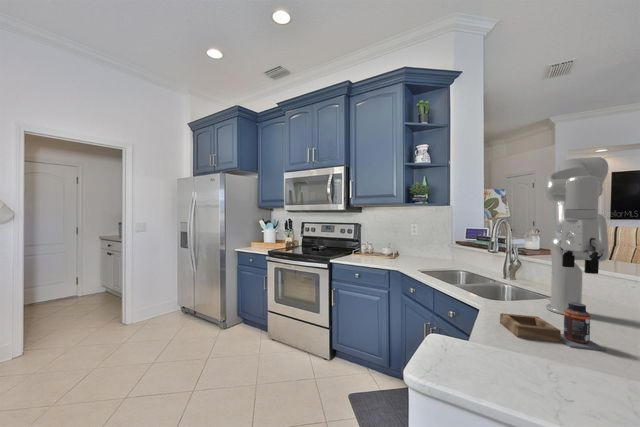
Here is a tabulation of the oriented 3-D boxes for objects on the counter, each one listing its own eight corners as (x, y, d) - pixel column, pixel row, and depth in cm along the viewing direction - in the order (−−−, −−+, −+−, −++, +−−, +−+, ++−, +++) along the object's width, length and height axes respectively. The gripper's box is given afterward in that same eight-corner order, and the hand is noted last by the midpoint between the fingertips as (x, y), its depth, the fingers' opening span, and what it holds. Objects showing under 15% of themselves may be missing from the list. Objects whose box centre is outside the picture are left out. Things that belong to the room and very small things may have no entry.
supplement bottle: (595, 345, 82) (596, 307, 82) (571, 343, 83) (573, 305, 83) (580, 337, 88) (581, 301, 88) (558, 334, 89) (559, 299, 89)
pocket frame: (499, 322, 99) (500, 313, 99) (537, 326, 97) (537, 316, 97) (517, 337, 87) (517, 326, 87) (560, 341, 85) (560, 330, 85)
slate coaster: (550, 334, 90) (550, 332, 90) (582, 337, 88) (582, 335, 88) (570, 347, 81) (570, 345, 81) (605, 351, 80) (605, 349, 80)
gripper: (549, 215, 95) (548, 264, 95) (588, 215, 78) (586, 275, 78) (574, 215, 94) (573, 265, 94) (619, 216, 77) (617, 277, 77)
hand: (579, 270), depth 86 cm, fingers open, 9 cm apart
